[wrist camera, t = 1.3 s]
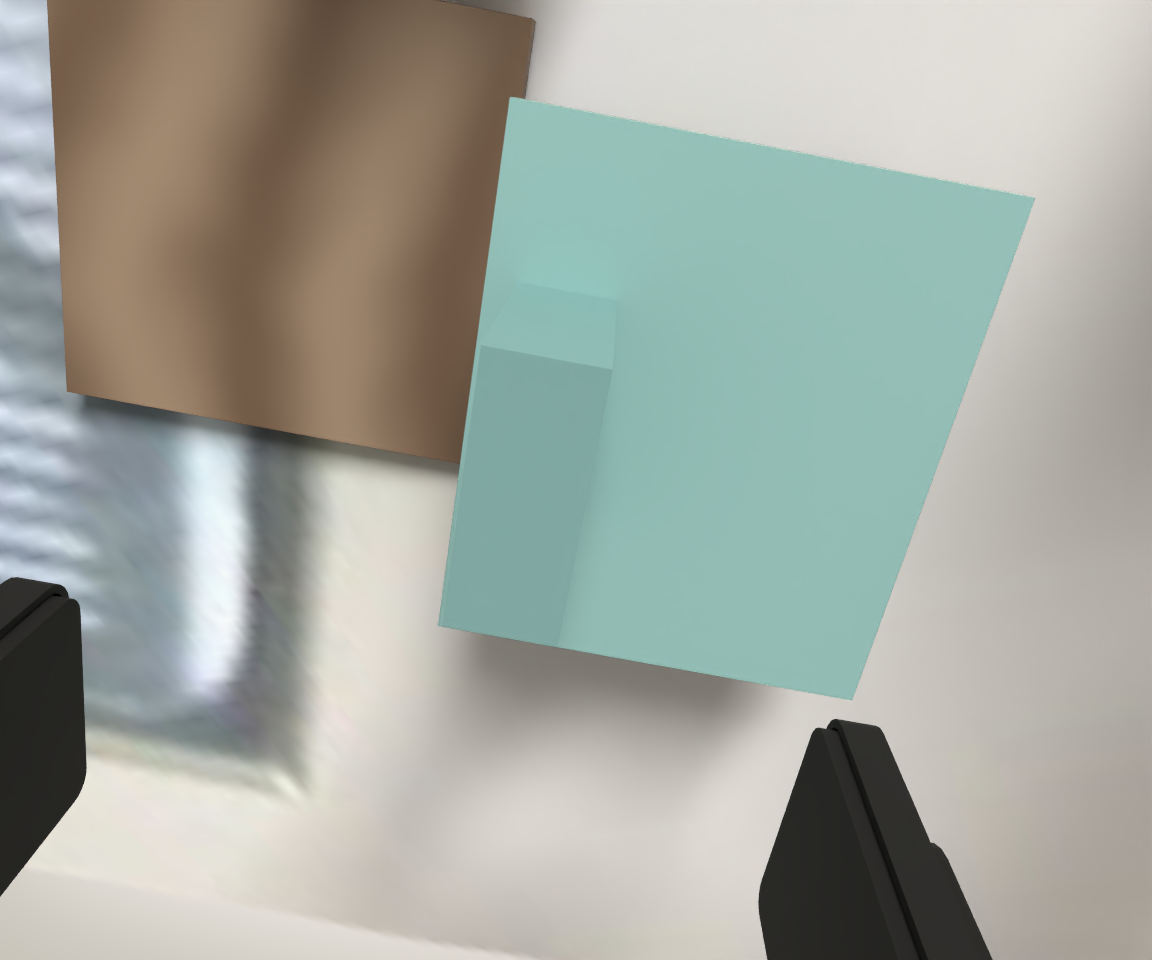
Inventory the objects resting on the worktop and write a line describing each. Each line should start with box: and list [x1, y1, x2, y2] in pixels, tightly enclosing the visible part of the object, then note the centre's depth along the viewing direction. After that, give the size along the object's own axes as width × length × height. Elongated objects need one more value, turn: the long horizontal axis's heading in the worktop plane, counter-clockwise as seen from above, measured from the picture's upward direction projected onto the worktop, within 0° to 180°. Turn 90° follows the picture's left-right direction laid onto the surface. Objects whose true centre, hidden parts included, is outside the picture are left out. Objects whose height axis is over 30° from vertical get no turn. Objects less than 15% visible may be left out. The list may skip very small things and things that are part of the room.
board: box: [47, 0, 536, 464], centre depth 29 cm, size 14×14×1 cm
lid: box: [438, 97, 1035, 700], centre depth 21 cm, size 12×14×8 cm
